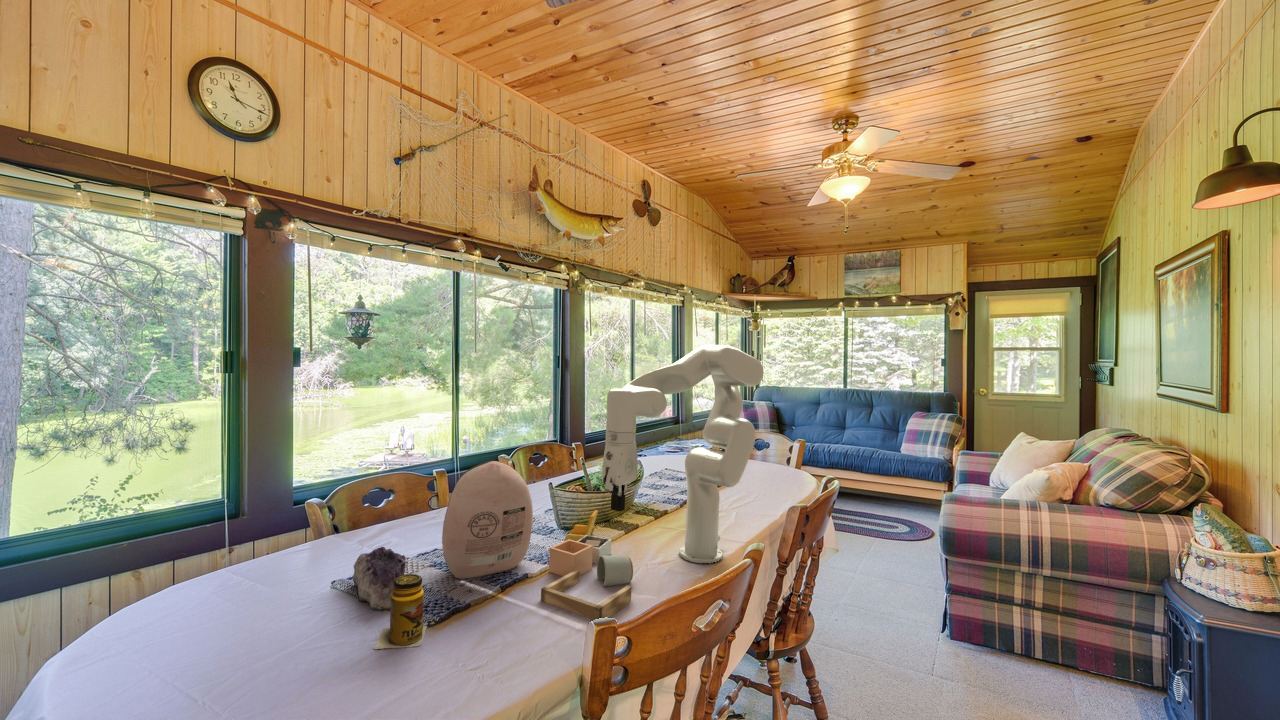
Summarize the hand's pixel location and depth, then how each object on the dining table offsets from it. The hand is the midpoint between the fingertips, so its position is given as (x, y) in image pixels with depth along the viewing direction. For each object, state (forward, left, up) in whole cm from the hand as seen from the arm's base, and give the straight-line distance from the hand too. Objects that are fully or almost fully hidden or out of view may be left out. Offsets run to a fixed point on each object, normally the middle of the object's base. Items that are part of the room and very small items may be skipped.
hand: (617, 509), depth 134 cm
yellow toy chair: (-19, -26, -19) cm, 37 cm away
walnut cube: (-10, -14, -18) cm, 25 cm away
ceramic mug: (-1, -1, -19) cm, 19 cm away
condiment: (+45, -21, -19) cm, 54 cm away
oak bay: (+11, 0, -19) cm, 22 cm away
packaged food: (+14, -30, -19) cm, 38 cm away
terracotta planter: (+1, -13, -19) cm, 23 cm away
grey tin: (-10, -14, -19) cm, 25 cm away
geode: (+36, -42, -19) cm, 58 cm away
